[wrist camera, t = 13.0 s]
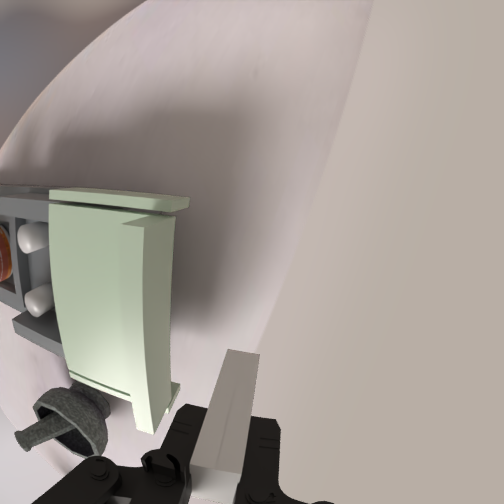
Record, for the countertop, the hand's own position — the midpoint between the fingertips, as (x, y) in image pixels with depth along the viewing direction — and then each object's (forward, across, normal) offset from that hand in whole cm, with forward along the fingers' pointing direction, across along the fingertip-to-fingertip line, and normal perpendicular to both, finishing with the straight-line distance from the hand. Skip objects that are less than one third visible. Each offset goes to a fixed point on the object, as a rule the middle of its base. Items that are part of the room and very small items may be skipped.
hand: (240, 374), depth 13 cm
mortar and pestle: (+10, -19, -19) cm, 29 cm away
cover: (+6, -9, 0) cm, 11 cm away
